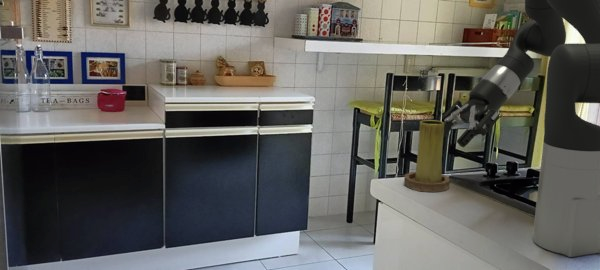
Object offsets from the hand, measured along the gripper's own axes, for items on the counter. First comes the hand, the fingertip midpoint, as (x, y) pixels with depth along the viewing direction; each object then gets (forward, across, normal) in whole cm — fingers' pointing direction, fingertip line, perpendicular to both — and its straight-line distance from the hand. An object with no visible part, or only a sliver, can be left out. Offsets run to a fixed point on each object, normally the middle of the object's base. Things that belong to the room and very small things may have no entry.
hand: (448, 140), depth 115 cm
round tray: (+11, 0, +4) cm, 12 cm away
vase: (+10, 0, +3) cm, 11 cm away
